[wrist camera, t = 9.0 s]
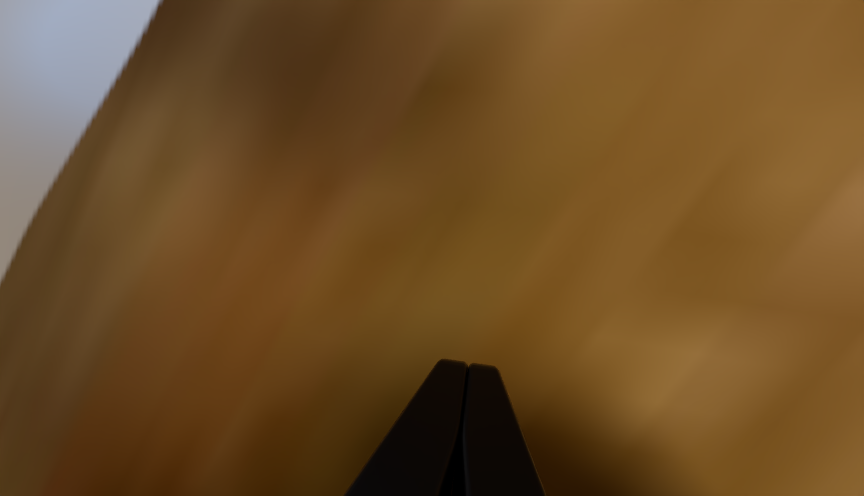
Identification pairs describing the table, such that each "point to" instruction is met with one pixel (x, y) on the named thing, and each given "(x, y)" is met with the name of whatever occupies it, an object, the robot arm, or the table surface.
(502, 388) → the robot arm
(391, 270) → the table surface
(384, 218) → the table surface
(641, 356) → the table surface
